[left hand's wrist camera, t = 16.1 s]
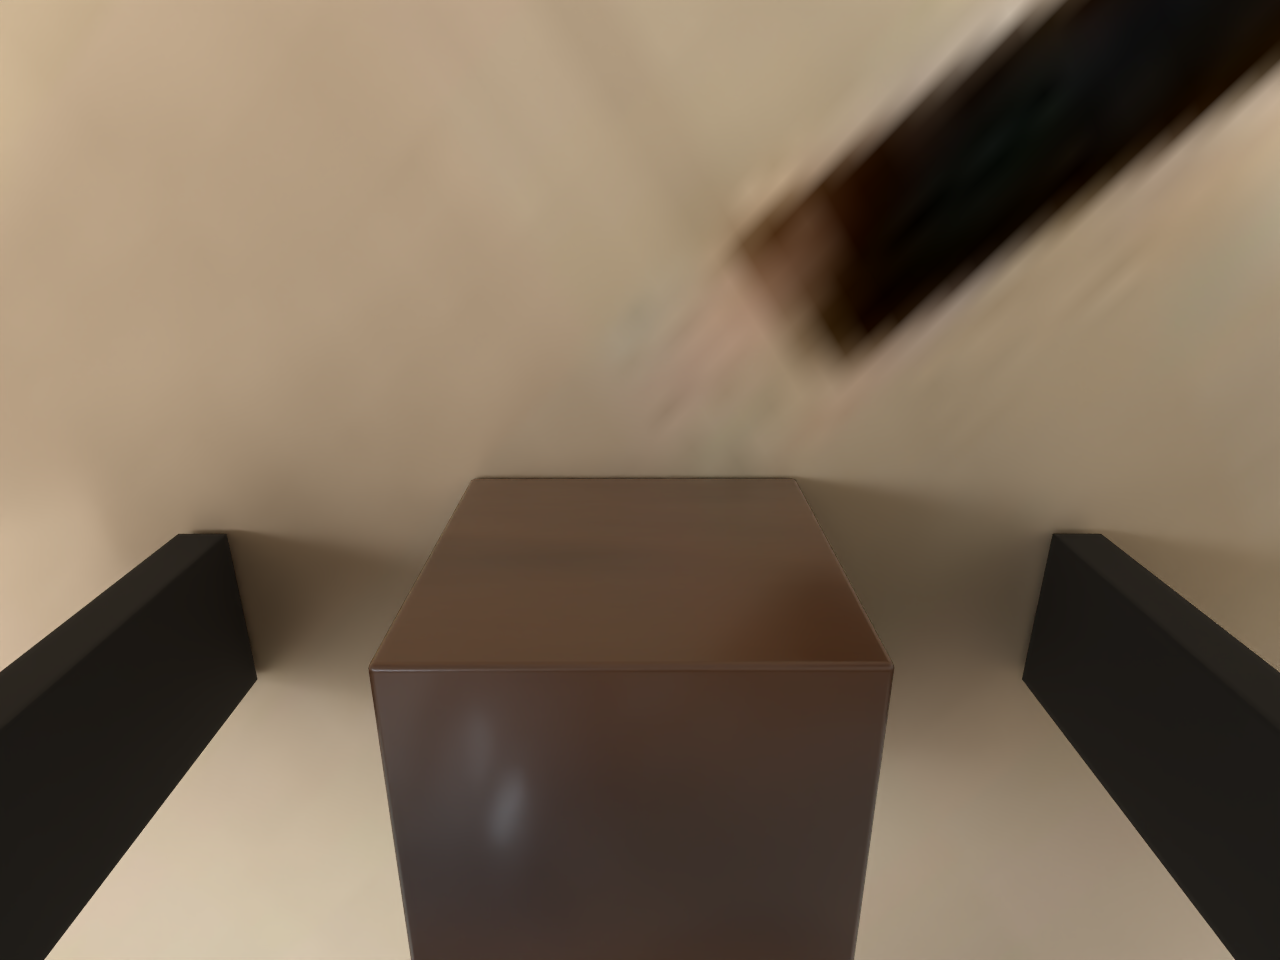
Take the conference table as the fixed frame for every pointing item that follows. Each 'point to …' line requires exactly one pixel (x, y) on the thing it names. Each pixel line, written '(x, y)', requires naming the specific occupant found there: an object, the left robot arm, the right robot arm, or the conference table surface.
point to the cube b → (632, 726)
